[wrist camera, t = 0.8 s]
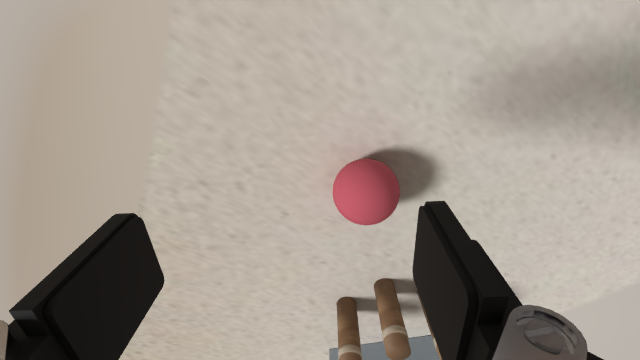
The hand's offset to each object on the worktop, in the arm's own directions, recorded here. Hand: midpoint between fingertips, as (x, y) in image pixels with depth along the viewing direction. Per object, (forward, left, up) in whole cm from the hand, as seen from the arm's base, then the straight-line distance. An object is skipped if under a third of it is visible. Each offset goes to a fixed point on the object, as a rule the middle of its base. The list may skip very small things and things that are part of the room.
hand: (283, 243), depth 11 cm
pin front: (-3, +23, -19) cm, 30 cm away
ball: (-3, +8, -16) cm, 18 cm away
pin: (+2, +25, -19) cm, 32 cm away
